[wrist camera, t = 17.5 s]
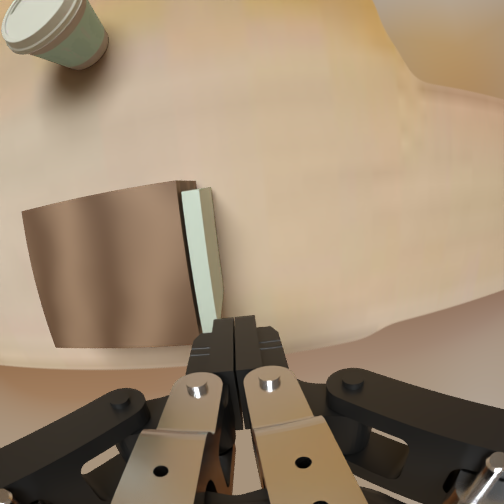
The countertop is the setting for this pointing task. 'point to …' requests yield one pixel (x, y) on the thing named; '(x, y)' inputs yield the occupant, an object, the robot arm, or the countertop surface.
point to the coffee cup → (55, 31)
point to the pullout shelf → (204, 254)
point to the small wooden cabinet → (115, 268)
